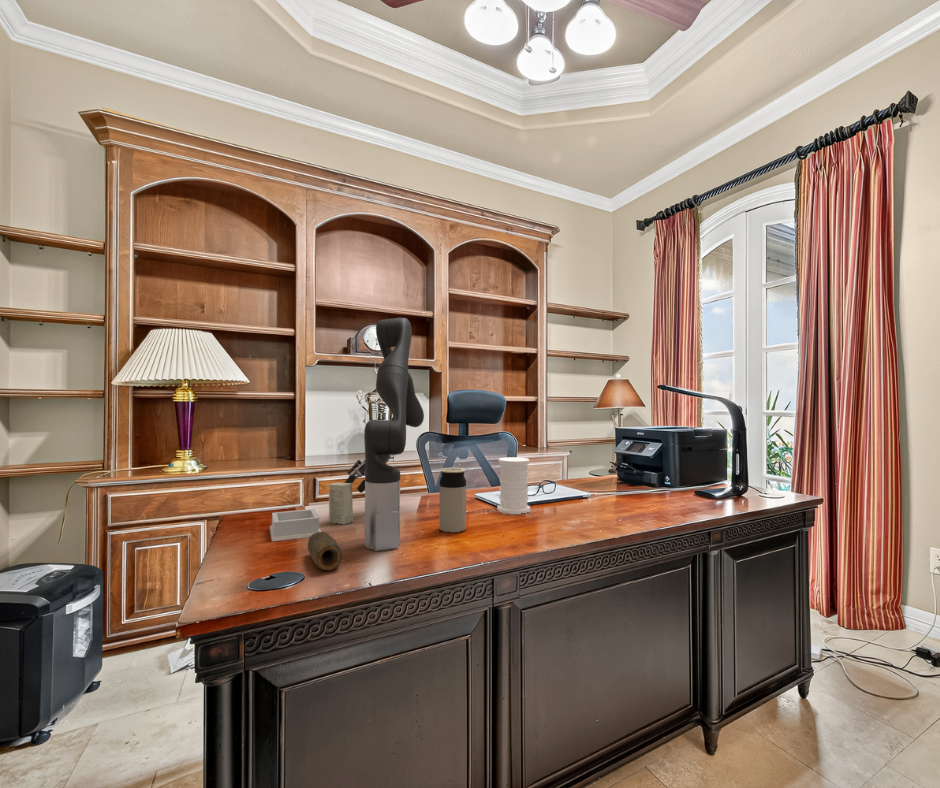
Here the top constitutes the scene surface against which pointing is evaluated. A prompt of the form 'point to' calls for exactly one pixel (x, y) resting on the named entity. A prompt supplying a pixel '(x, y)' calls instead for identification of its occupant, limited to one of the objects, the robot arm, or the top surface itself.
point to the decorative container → (513, 485)
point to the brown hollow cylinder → (324, 551)
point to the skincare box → (340, 503)
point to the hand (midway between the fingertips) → (351, 489)
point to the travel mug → (452, 500)
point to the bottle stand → (294, 524)
